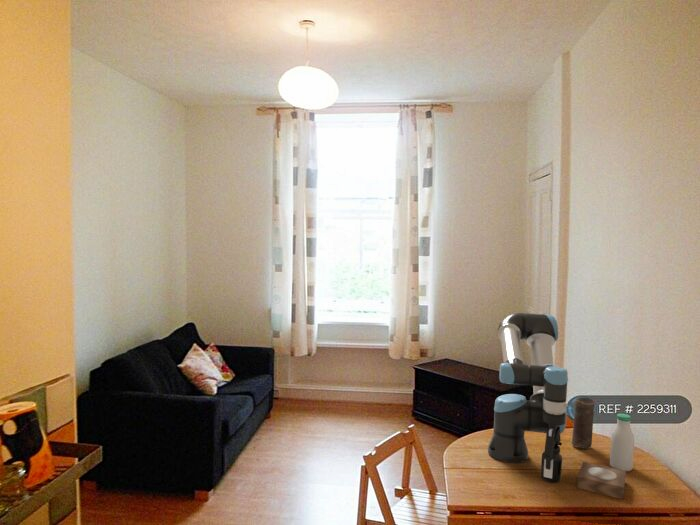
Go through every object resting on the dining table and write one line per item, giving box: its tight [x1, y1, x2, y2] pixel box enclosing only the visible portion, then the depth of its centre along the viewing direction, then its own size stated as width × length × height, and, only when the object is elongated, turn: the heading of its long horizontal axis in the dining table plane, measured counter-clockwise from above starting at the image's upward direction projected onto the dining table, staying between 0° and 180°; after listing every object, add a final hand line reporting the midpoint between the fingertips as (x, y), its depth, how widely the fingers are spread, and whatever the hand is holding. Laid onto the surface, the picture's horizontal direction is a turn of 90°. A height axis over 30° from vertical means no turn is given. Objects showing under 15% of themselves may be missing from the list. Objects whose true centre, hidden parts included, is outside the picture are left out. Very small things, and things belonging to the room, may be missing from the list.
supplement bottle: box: [540, 444, 563, 484], centre depth 186 cm, size 7×7×12 cm
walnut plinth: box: [577, 461, 627, 500], centre depth 183 cm, size 14×14×4 cm
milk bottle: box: [609, 413, 635, 472], centre depth 197 cm, size 8×8×20 cm
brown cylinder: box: [571, 396, 596, 450], centre depth 215 cm, size 8×7×20 cm
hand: (551, 469), depth 186 cm, fingers open, 13 cm apart
